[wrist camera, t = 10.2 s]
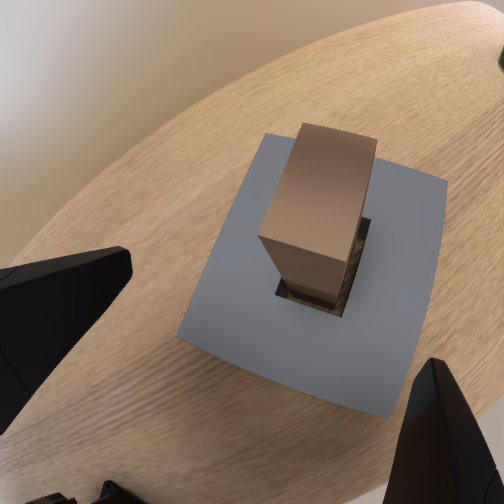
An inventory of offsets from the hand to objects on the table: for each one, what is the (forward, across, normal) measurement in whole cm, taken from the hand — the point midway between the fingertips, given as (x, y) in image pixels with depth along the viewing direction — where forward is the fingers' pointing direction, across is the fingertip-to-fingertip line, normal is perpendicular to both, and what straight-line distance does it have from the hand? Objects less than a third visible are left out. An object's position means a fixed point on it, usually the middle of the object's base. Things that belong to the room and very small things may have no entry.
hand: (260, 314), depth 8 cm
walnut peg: (+13, 0, +6) cm, 14 cm away
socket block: (+13, 0, +6) cm, 14 cm away
